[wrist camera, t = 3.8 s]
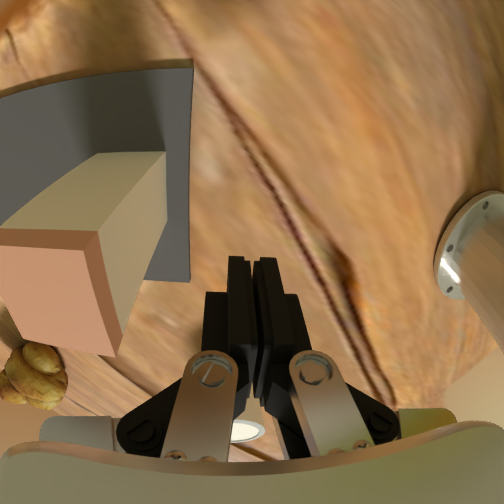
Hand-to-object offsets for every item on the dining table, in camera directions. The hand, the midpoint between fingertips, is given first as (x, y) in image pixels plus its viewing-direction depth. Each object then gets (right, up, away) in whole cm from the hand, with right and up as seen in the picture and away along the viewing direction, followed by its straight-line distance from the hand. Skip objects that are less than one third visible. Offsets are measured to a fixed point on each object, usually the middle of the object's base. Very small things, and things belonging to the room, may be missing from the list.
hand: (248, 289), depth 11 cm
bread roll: (-28, -13, +20) cm, 37 cm away
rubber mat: (-15, +7, +8) cm, 18 cm away
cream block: (-8, +6, +8) cm, 13 cm away
